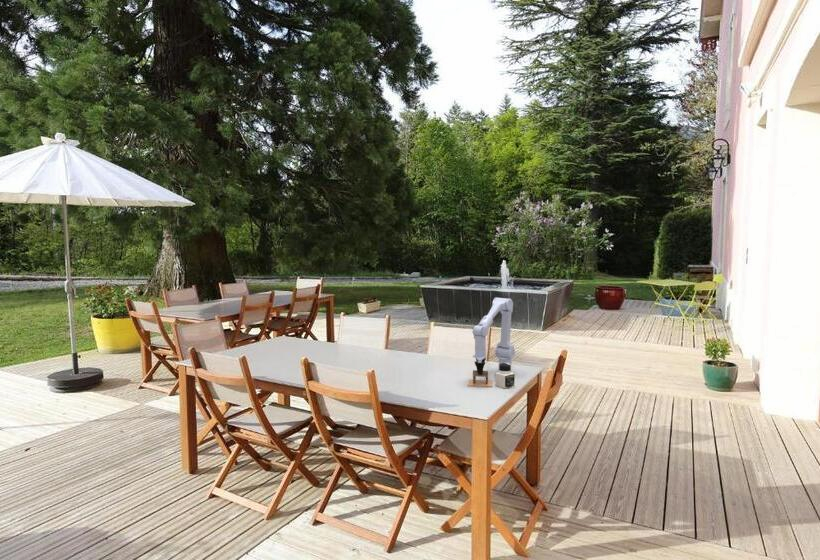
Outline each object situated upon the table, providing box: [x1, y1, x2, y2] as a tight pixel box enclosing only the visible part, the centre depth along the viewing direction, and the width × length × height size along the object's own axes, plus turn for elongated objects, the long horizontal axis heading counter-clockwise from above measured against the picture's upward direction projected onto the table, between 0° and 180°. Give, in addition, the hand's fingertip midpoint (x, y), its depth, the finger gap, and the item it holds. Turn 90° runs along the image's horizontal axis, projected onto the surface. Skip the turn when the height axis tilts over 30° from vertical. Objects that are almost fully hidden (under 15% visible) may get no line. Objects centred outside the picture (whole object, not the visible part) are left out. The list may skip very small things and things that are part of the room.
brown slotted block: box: [472, 369, 489, 384], centre depth 282 cm, size 5×8×6 cm, turn 80°
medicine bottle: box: [495, 363, 515, 390], centre depth 277 cm, size 7×7×12 cm
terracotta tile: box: [467, 378, 494, 388], centre depth 282 cm, size 11×13×1 cm
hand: (480, 372), depth 282 cm, fingers open, 7 cm apart
